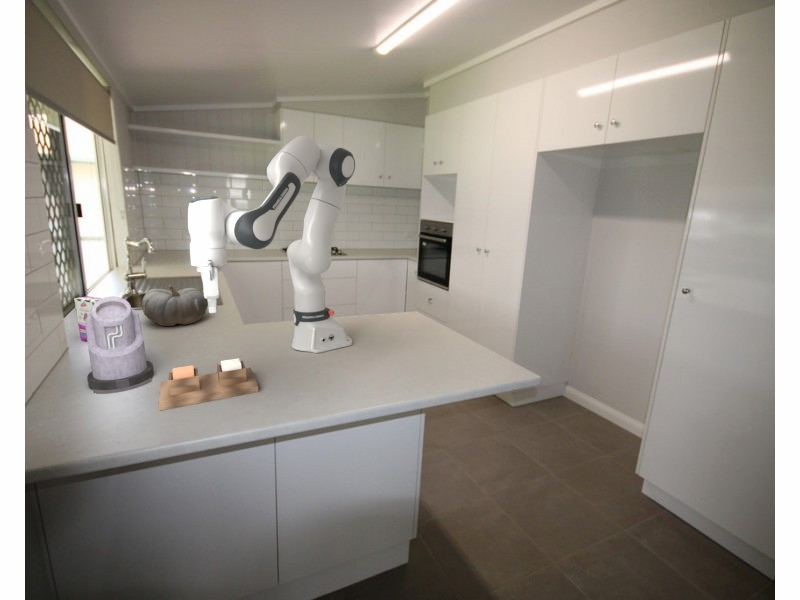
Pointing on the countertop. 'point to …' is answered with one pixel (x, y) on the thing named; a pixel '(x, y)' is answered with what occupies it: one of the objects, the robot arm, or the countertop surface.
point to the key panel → (206, 387)
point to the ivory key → (230, 365)
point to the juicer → (116, 347)
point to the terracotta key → (183, 372)
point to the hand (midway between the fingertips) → (212, 308)
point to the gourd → (174, 306)
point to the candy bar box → (84, 312)
